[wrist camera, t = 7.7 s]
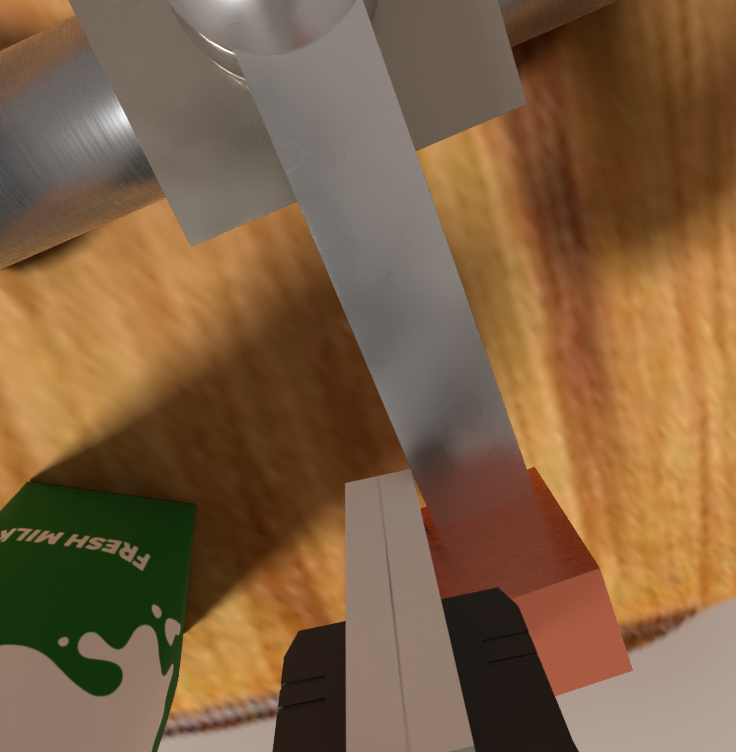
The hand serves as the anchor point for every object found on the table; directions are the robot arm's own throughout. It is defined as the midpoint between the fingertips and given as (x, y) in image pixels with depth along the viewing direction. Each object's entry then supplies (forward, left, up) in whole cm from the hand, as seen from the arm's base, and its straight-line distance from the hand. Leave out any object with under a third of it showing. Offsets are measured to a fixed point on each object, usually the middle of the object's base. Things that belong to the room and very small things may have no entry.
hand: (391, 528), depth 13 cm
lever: (+2, +5, -1) cm, 6 cm away
